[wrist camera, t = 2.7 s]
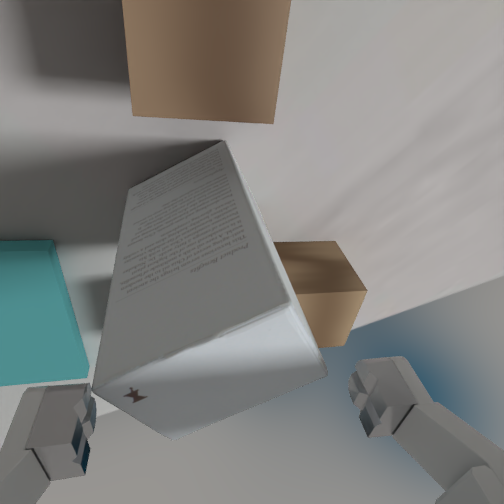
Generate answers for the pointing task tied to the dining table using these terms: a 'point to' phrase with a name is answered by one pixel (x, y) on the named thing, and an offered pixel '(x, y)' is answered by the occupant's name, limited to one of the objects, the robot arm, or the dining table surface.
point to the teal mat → (36, 317)
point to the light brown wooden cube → (323, 288)
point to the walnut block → (205, 58)
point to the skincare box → (199, 303)
